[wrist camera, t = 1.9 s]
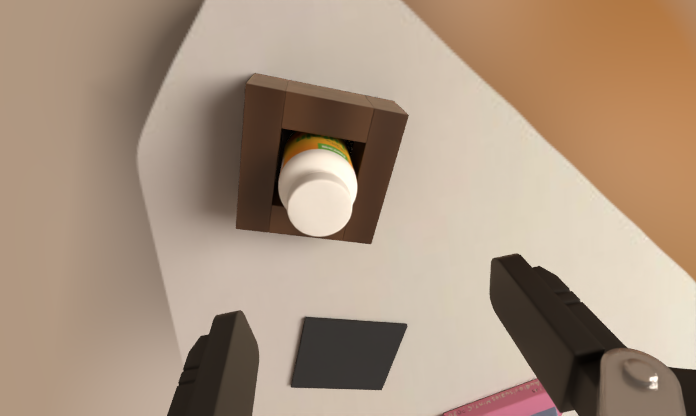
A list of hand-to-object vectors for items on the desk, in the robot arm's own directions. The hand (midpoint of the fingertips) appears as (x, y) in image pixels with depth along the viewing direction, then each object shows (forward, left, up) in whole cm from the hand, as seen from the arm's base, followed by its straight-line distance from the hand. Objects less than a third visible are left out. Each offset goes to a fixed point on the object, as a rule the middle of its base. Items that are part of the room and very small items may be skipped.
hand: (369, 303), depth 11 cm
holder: (-1, -2, -20) cm, 20 cm away
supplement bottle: (-1, -2, -20) cm, 20 cm away
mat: (+7, -27, -20) cm, 35 cm away
